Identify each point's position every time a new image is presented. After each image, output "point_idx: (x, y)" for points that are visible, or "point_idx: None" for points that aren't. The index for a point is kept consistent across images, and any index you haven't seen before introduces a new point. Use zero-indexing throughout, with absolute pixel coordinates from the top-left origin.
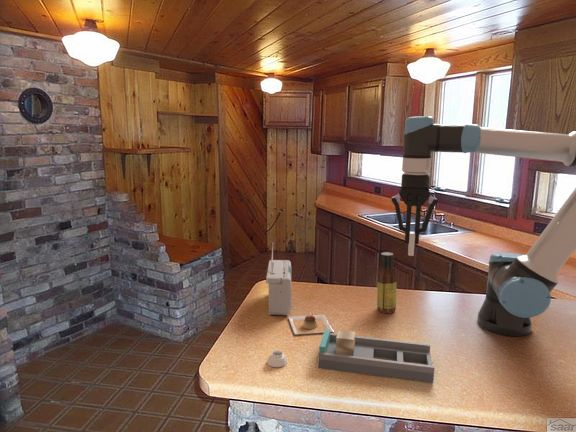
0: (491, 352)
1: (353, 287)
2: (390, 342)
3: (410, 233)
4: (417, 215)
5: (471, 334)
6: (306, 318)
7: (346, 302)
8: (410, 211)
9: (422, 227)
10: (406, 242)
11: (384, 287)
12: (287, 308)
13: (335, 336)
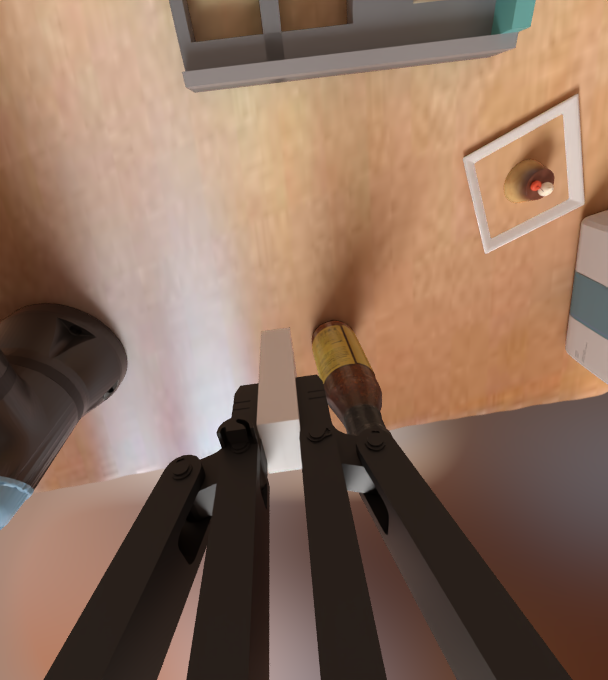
0: (51, 196)
1: (410, 421)
2: (305, 58)
3: (293, 425)
4: (233, 618)
5: (122, 281)
6: (551, 174)
7: (426, 346)
8: (331, 672)
9: (192, 485)
10: (312, 379)
11: (352, 356)
12: (602, 218)
13: (480, 37)
